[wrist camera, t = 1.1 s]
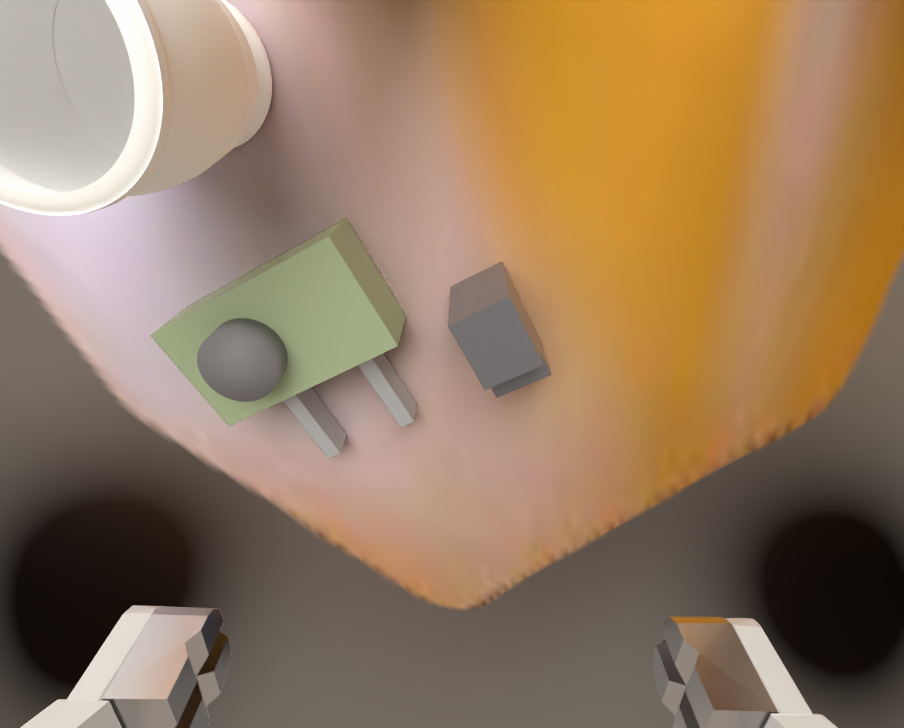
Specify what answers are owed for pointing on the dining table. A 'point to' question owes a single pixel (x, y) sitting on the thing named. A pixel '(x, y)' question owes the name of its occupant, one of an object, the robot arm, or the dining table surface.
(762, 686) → the robot arm
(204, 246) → the dining table surface
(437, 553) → the dining table surface
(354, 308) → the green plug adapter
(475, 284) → the upright grey box
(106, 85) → the jar
